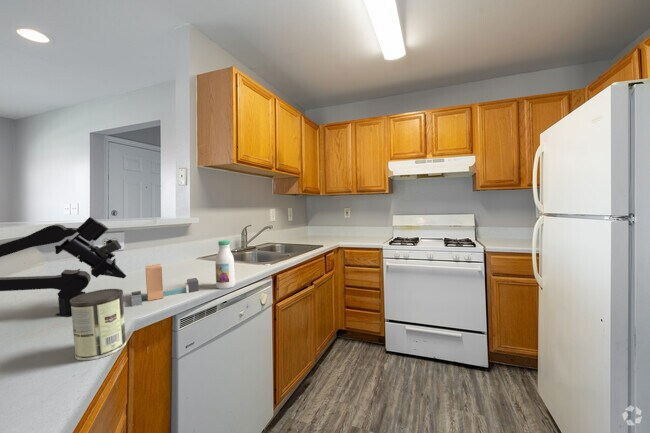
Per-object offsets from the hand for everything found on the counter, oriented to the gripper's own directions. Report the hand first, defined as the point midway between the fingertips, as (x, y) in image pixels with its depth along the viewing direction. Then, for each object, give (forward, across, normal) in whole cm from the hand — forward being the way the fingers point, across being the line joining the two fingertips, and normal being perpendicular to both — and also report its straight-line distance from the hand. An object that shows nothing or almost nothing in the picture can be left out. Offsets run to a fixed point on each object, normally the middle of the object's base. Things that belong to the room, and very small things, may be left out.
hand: (125, 277), depth 103 cm
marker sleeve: (+13, 0, 0) cm, 13 cm away
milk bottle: (+32, -4, -18) cm, 37 cm away
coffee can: (+4, -37, +10) cm, 39 cm away
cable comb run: (+16, 0, -2) cm, 16 cm away
